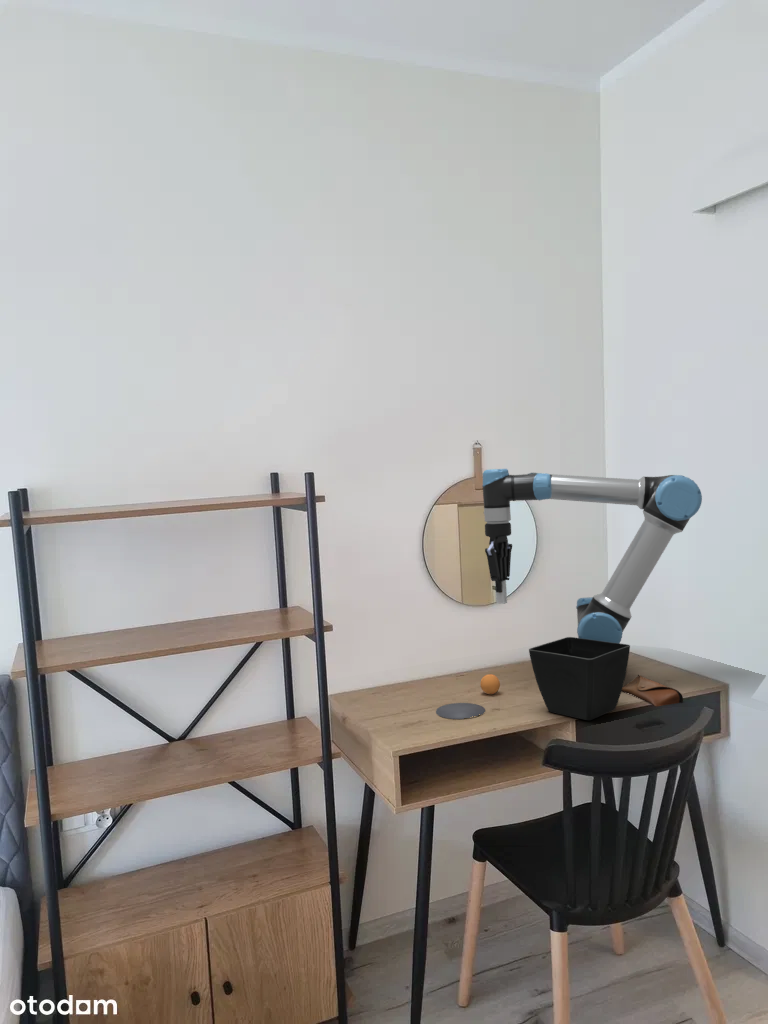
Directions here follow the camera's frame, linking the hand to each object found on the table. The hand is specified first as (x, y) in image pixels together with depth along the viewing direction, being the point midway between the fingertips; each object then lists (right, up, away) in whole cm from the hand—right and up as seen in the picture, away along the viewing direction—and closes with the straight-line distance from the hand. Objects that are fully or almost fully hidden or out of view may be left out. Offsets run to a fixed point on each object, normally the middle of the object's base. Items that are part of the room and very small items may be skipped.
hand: (501, 602), depth 222 cm
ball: (-4, -22, -7) cm, 24 cm away
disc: (-14, -26, -20) cm, 36 cm away
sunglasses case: (+37, -24, -16) cm, 47 cm away
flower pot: (+17, -25, -25) cm, 39 cm away
